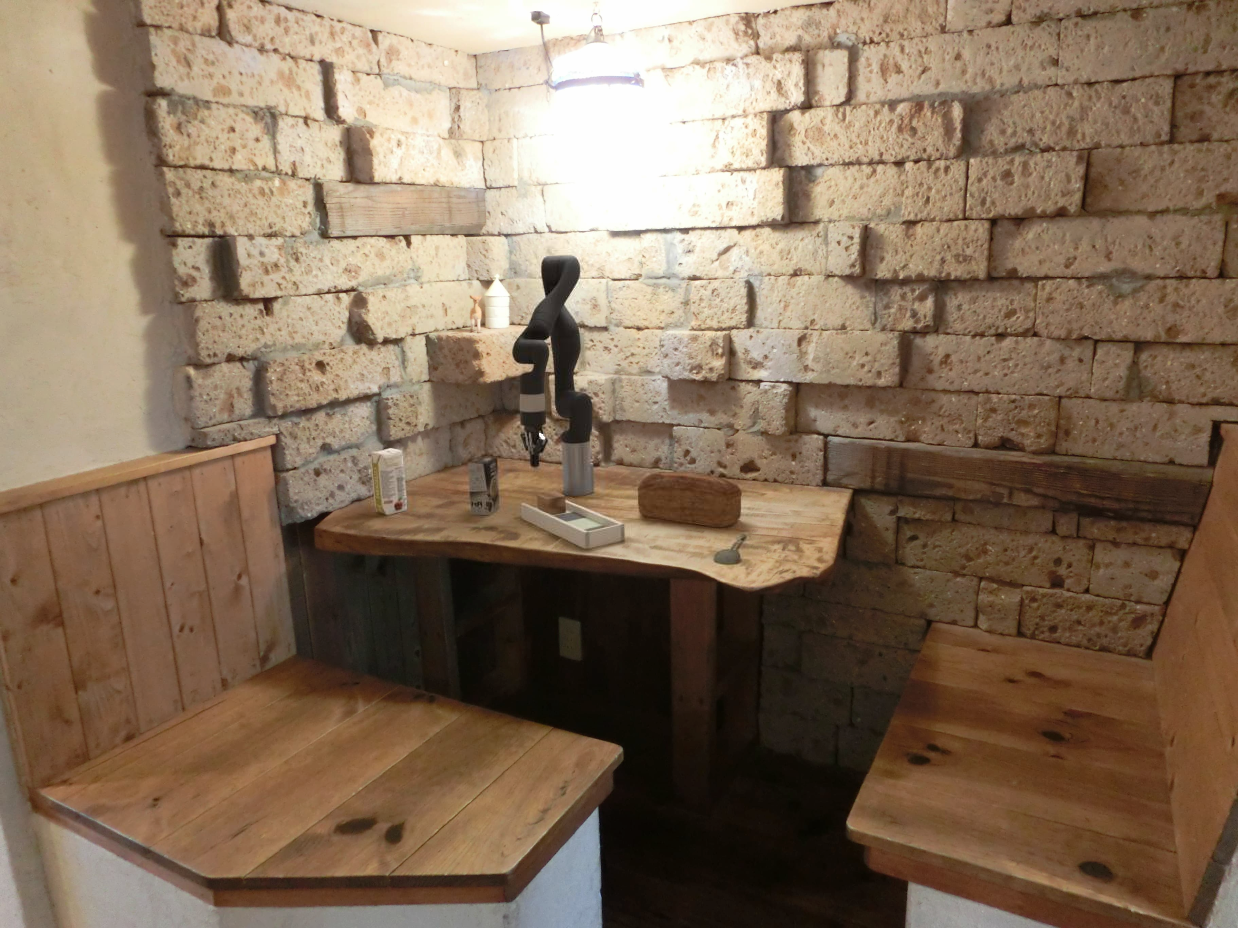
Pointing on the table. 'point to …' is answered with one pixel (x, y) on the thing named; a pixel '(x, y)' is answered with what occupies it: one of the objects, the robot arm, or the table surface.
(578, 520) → the track
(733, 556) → the soupspoon
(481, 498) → the coffee box
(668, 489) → the bread
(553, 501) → the walnut block
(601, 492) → the table surface
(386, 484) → the juice carton
